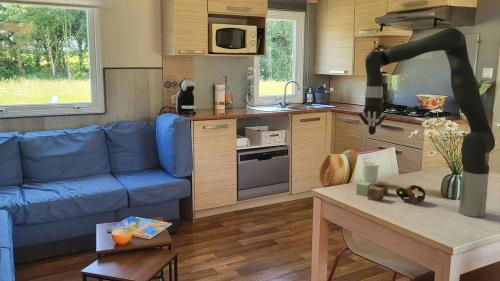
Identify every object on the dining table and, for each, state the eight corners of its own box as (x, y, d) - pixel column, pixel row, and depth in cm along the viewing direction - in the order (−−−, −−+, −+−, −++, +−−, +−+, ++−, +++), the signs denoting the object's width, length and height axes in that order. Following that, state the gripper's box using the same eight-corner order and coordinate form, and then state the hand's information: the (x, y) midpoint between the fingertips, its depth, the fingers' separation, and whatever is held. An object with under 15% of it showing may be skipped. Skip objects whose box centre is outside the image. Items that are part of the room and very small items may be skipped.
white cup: (360, 184, 218) (361, 165, 216) (361, 180, 225) (362, 161, 224) (377, 186, 216) (378, 166, 214) (377, 182, 223) (378, 162, 221)
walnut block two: (383, 199, 196) (383, 187, 195) (378, 201, 192) (379, 190, 191) (372, 196, 199) (373, 185, 198) (367, 199, 195) (368, 188, 194)
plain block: (370, 193, 204) (371, 183, 203) (367, 196, 200) (367, 185, 199) (359, 191, 206) (360, 181, 206) (356, 194, 202) (356, 183, 201)
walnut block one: (387, 192, 205) (388, 182, 204) (386, 195, 200) (387, 184, 199) (376, 191, 207) (377, 180, 206) (375, 194, 202) (376, 183, 201)
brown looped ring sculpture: (418, 199, 197) (426, 186, 192) (420, 214, 190) (428, 201, 185) (392, 191, 198) (399, 178, 193) (393, 206, 191) (400, 193, 185)
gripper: (391, 96, 199) (388, 134, 202) (362, 95, 205) (360, 132, 208) (386, 97, 192) (384, 136, 195) (356, 96, 199) (355, 134, 202)
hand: (371, 134), depth 202 cm, fingers closed
